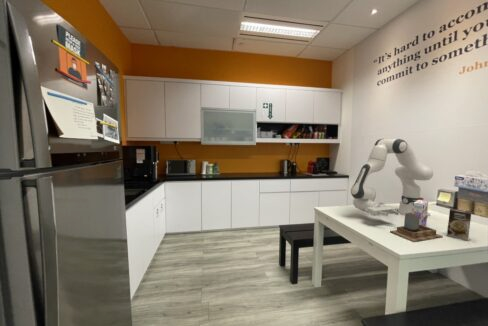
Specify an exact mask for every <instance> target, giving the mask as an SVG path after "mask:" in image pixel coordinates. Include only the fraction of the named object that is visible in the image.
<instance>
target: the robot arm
mask: <svg viewBox="0 0 488 326" xmlns="http://www.w3.org/2000/svg"><path fill="white" fill-rule="evenodd" d="M388 154H394V155H395V157H396V160H397V161H398V163H399V165H397V166H396V167H395V168H394V169H395V170H394V173H395V176H397V178H398V179H399V180H400V182H401V185H402V193H401V199H400V201H399V206H398V209H397V208H396V207H394V206H391V205H389V204H386V203H385V202H378V201H375V199H376V195H377V192H376V190H375V188H372V187H369V186H365V184H366V181H367V179H368V178H369V176H370V174H373V173H377V172H380V171H382V170H383V169H384V167H385V164H386V162H387V157H388ZM433 176H434V171H433V169H432V168H431V167H429V166H427V165H425V164H424V163H422V162H421V161H420V160H419V159H418V158H417V156H416V154H415V153H414V150H413V148H412V147H411V145H410V144H409V142H408V141H407V140H406V139H403V138H402V139H401V138H380V139H377V140H376V141H375V143H374V146H373V147H372V149H371V151H370V153H369V155H368V158H367V161H366V162H365V164H364V165H362V167H361V168H360V171H359V173H358V175H357V177H356V180H355V182H354V183H353V185H352V186H351V188H350V193H351V194H350V195H351V196H352V198H354V199H352V205H353V206H354V207H355V208H356V209H357V210H360V211H363V212H366V213H367V214H370V215H372V216H385V217H387V216H389V215H393V214H394V215H396V216H398V215H399V214H400V215H404V216H405V213H410V212H413V203H414V202H416V201H418V200H422V201H425V199H424V197H422V196H421V186H419V185H418V184H417V183H416V182H415V180H416V181H430V180H431V179H432V178H433ZM397 210H398V211H397ZM429 216H431V213H429V212H427V217H429Z"/></svg>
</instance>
